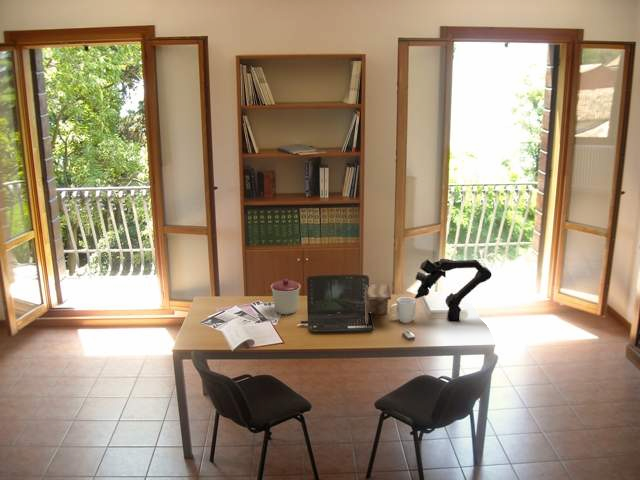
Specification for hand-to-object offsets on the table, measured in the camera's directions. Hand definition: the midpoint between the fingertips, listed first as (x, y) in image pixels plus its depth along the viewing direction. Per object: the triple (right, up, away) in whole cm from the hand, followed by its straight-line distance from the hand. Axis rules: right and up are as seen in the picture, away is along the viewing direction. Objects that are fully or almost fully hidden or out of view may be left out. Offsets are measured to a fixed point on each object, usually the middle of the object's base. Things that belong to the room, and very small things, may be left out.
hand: (416, 295), depth 362 cm
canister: (-78, -11, +12) cm, 80 cm away
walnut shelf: (-24, -15, 0) cm, 28 cm away
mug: (-8, -15, -1) cm, 17 cm away
